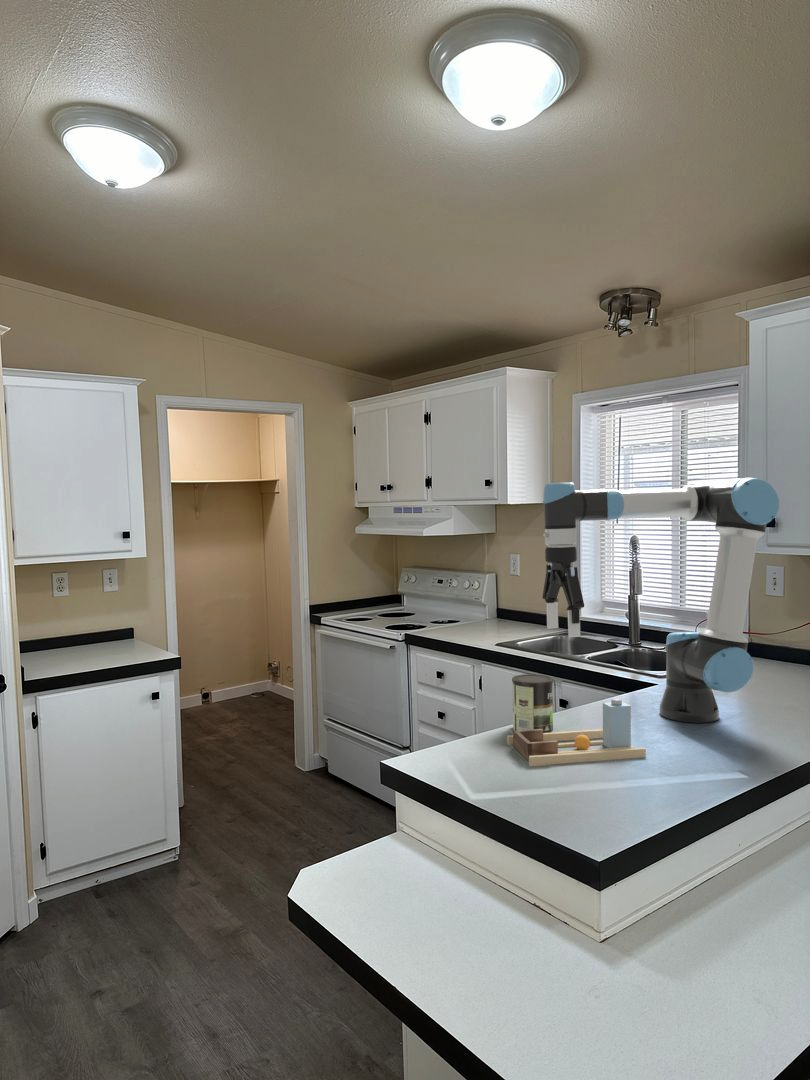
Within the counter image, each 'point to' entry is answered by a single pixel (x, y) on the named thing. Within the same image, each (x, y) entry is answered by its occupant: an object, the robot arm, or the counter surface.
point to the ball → (582, 742)
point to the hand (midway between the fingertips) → (563, 632)
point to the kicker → (616, 724)
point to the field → (579, 754)
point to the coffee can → (533, 702)
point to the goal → (533, 743)
